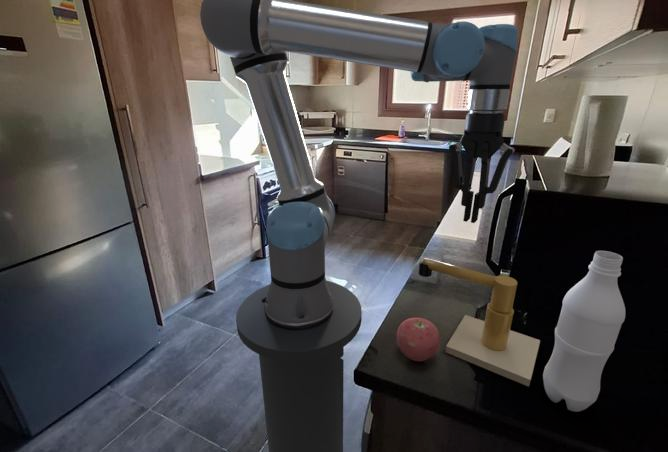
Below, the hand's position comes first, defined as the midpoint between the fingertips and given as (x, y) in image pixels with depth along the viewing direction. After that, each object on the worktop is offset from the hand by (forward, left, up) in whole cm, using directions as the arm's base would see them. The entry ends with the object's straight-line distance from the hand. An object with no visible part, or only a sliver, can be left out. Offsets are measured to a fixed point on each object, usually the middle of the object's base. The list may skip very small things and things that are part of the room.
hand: (470, 220), depth 78 cm
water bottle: (+24, -23, -19) cm, 38 cm away
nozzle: (+5, -18, -9) cm, 21 cm away
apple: (+1, -28, -19) cm, 34 cm away
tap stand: (+12, -18, -18) cm, 28 cm away
